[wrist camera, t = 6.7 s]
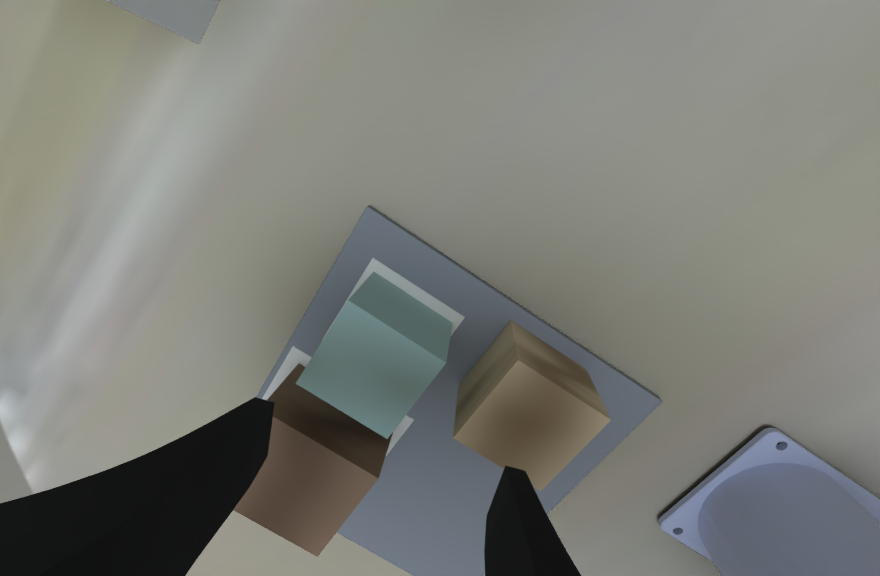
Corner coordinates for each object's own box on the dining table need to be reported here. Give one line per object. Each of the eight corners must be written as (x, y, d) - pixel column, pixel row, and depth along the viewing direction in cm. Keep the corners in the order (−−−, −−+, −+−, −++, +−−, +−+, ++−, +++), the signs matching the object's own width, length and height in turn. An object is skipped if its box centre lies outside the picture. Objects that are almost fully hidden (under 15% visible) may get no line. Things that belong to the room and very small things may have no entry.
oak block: (586, 369, 20) (611, 419, 16) (529, 431, 21) (540, 491, 18) (510, 319, 19) (518, 359, 16) (458, 386, 21) (453, 437, 17)
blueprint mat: (658, 396, 20) (662, 401, 20) (457, 594, 26) (457, 601, 26) (369, 205, 19) (367, 206, 18) (221, 459, 24) (216, 465, 24)
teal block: (403, 387, 21) (387, 439, 17) (329, 341, 21) (295, 383, 17) (452, 322, 20) (446, 362, 16) (373, 271, 19) (347, 300, 16)
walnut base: (396, 422, 22) (378, 478, 18) (343, 492, 24) (317, 556, 20) (298, 363, 21) (259, 408, 17) (252, 439, 23) (207, 495, 19)
